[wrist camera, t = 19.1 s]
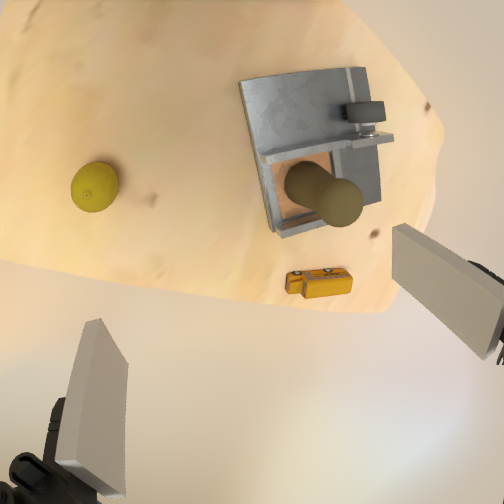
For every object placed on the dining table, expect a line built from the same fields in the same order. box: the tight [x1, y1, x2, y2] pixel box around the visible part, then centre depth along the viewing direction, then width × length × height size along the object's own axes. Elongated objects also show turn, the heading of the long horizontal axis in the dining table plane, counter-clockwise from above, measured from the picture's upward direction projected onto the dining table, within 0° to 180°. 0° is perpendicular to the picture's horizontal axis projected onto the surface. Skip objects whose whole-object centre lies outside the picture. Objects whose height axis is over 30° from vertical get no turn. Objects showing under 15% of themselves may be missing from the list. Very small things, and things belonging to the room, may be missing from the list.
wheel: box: [346, 101, 386, 126], centre depth 35 cm, size 3×5×5 cm, turn 102°
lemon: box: [71, 162, 119, 212], centre depth 32 cm, size 6×6×8 cm
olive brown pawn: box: [284, 161, 363, 227], centre depth 35 cm, size 6×6×11 cm
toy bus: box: [286, 268, 353, 299], centre depth 48 cm, size 3×10×4 cm, turn 87°
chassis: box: [238, 67, 394, 238], centre depth 38 cm, size 20×18×6 cm
